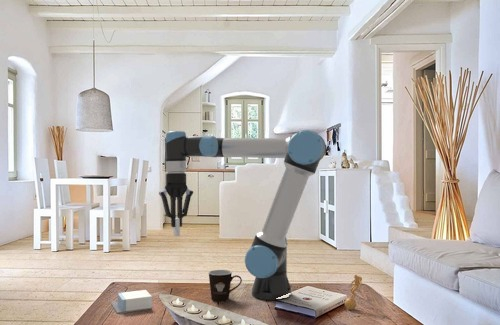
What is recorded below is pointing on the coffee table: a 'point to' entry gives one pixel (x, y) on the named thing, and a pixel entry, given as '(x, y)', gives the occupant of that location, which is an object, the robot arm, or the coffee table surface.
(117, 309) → the felt mat
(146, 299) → the slab
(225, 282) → the coffee mug
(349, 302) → the figurine
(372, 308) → the coffee table surface
